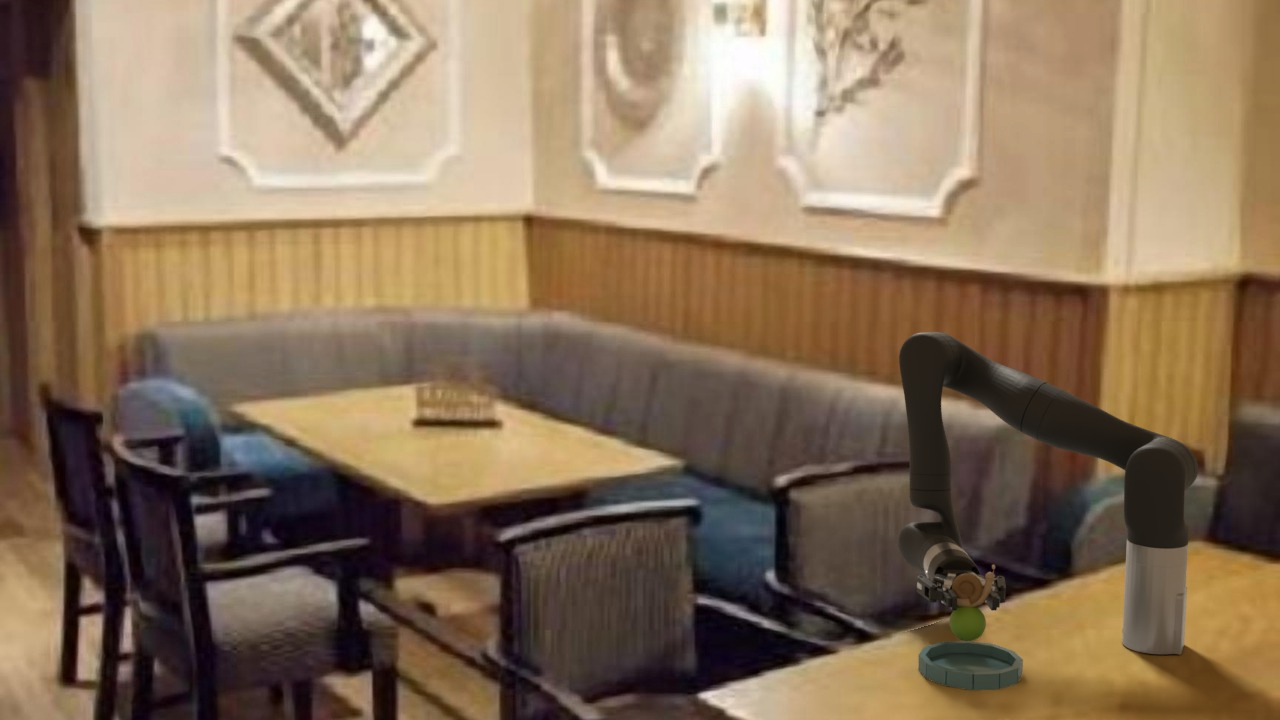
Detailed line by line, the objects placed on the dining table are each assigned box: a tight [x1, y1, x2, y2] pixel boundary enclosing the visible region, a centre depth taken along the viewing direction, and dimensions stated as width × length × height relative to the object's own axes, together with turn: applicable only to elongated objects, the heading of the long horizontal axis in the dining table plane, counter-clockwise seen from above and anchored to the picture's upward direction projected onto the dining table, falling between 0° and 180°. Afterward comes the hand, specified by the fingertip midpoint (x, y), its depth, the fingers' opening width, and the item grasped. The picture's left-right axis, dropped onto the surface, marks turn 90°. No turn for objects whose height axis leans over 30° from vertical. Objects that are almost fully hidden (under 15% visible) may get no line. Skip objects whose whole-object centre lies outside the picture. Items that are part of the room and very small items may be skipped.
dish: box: [918, 640, 1024, 691], centre depth 231 cm, size 15×15×2 cm
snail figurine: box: [948, 564, 996, 641], centre depth 230 cm, size 5×6×12 cm
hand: (974, 604), depth 227 cm, fingers closed on snail figurine, 5 cm apart
